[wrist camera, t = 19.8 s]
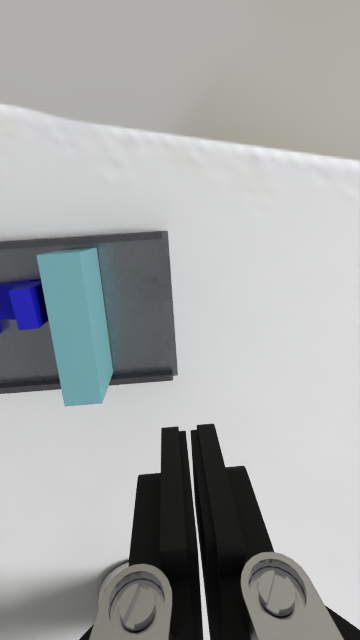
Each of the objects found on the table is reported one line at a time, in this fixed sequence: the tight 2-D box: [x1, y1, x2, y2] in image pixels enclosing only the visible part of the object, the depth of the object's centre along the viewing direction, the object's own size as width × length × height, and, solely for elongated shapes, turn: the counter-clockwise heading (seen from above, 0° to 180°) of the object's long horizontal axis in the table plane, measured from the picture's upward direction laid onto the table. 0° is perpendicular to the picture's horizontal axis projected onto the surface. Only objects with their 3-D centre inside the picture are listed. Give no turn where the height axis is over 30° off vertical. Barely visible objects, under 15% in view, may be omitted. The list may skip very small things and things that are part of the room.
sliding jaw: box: [37, 247, 113, 406], centre depth 27 cm, size 12×3×6 cm, turn 4°
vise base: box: [0, 231, 178, 394], centre depth 27 cm, size 14×27×8 cm, turn 94°
